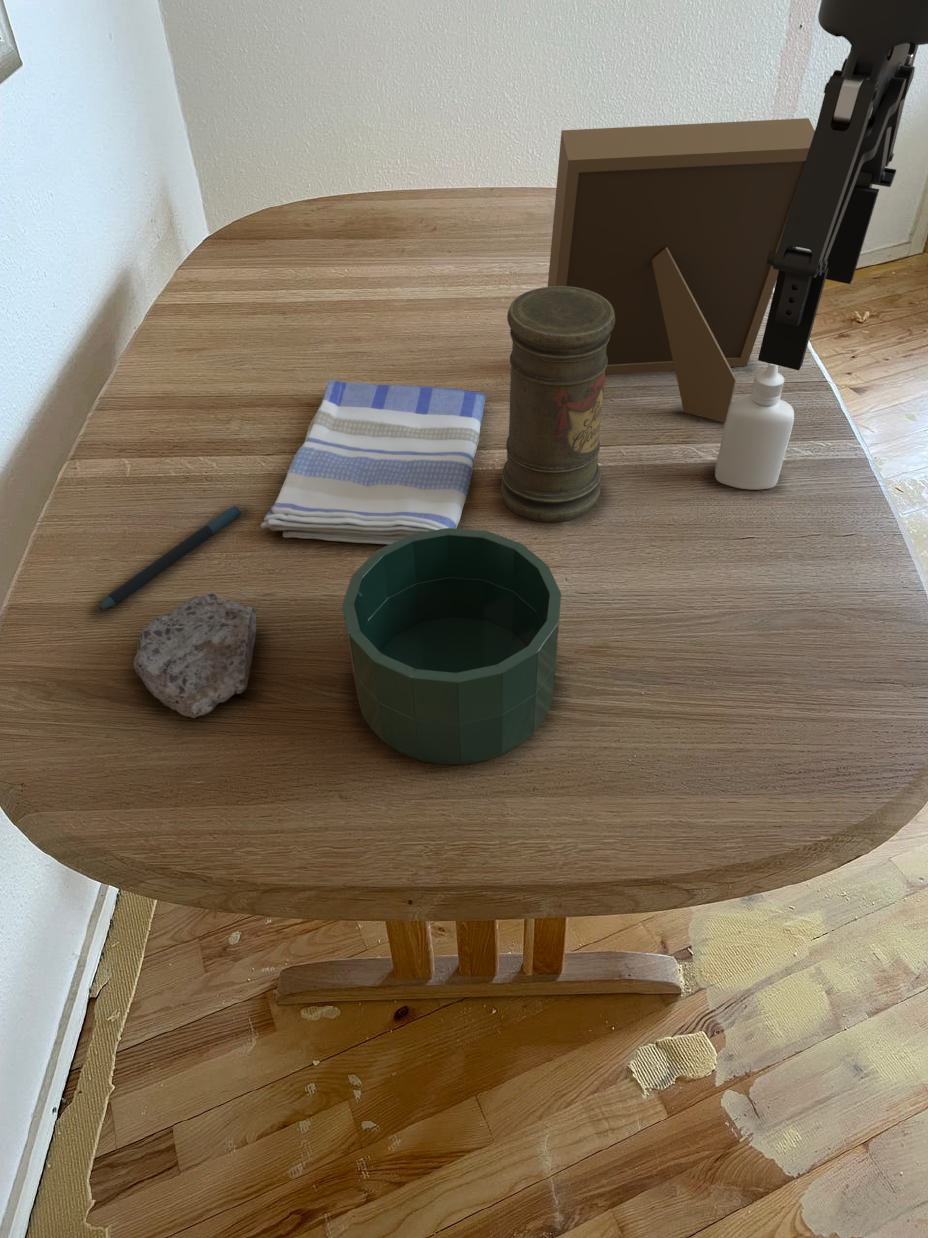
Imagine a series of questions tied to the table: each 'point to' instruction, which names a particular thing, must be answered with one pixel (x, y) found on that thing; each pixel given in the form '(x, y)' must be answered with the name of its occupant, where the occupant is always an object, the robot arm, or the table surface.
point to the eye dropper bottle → (756, 435)
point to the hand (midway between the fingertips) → (807, 318)
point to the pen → (169, 558)
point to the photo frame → (678, 241)
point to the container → (555, 401)
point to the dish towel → (381, 464)
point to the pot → (453, 644)
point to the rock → (197, 654)
